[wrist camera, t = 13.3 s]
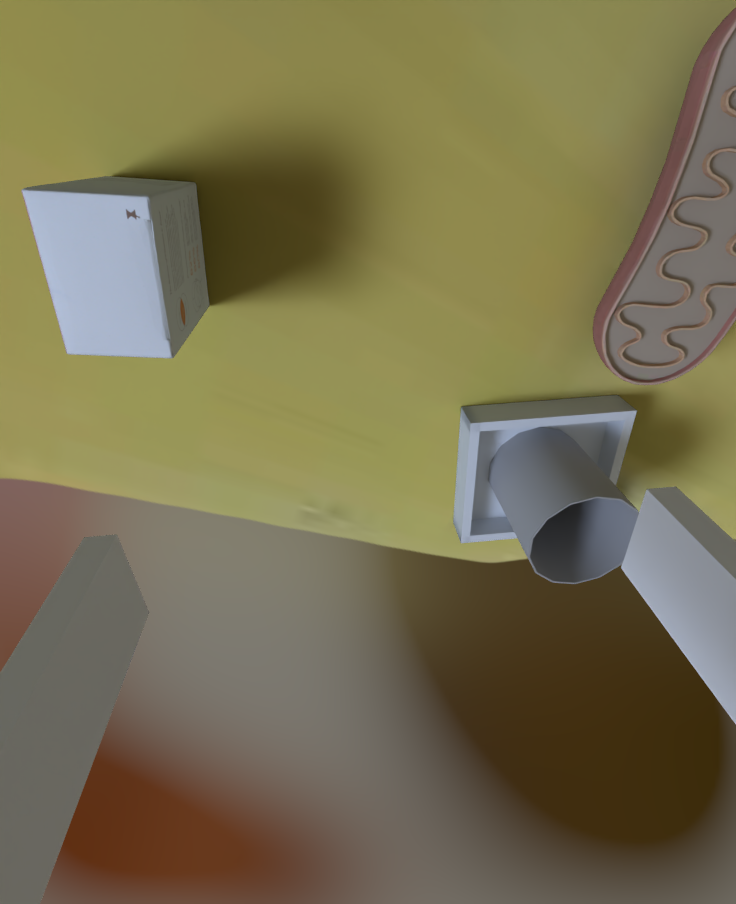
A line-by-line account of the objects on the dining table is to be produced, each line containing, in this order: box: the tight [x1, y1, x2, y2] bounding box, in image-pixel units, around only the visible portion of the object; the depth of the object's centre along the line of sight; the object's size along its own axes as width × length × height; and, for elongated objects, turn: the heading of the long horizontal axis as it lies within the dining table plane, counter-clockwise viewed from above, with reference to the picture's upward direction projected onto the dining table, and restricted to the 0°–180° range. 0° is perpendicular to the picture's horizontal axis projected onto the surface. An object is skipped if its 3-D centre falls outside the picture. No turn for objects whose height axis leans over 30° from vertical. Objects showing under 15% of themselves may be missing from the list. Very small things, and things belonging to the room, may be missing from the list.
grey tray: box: [453, 395, 637, 543], centre depth 43 cm, size 13×14×3 cm
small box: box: [22, 176, 209, 358], centre depth 28 cm, size 8×6×10 cm
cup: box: [488, 427, 639, 584], centre depth 39 cm, size 8×8×10 cm
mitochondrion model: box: [593, 8, 736, 385], centre depth 32 cm, size 23×10×5 cm, turn 171°
